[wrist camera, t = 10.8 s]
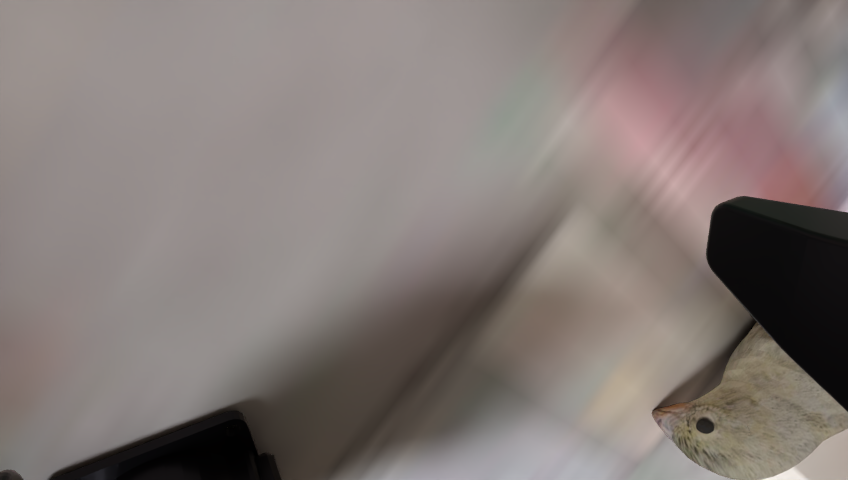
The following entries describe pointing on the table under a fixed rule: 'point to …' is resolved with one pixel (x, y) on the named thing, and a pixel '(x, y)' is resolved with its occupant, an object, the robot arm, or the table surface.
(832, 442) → the jar
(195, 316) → the table surface
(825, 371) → the robot arm
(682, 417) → the decorative bird
